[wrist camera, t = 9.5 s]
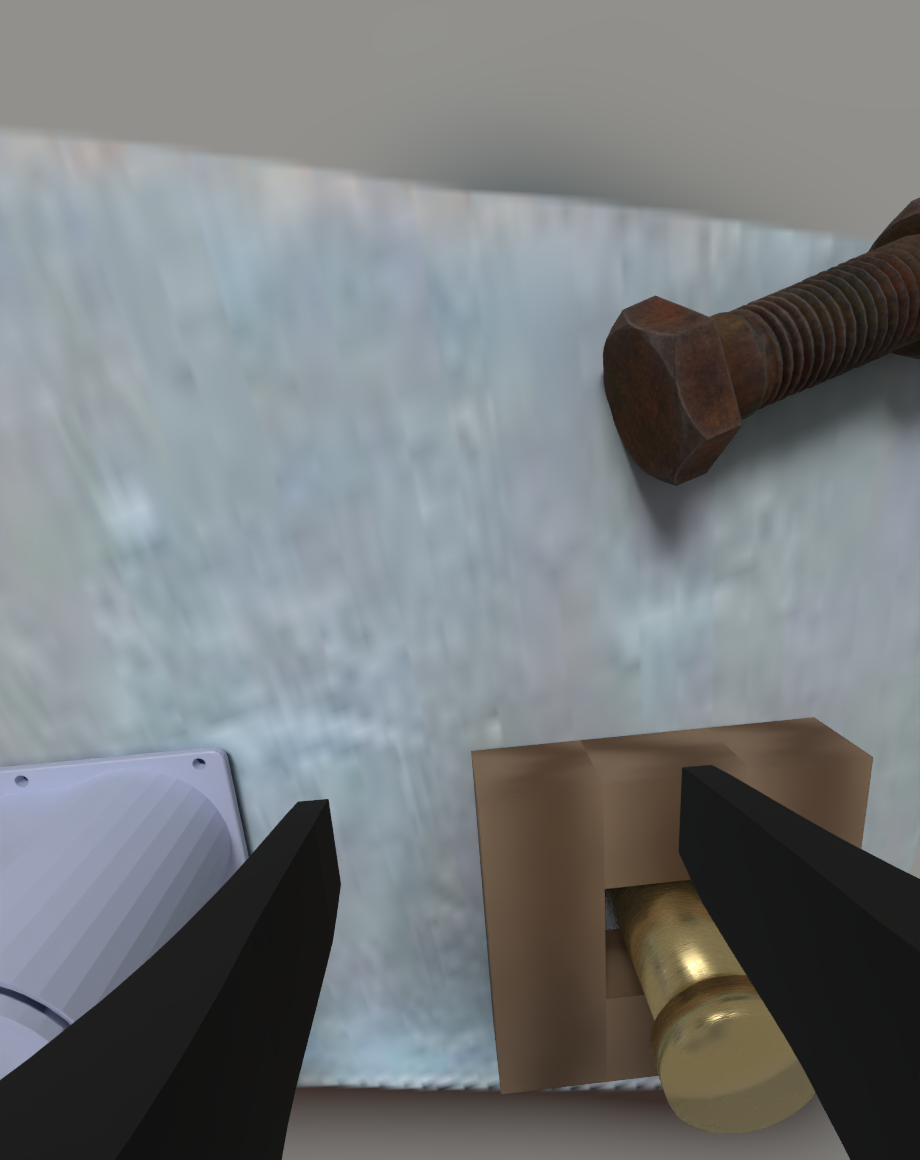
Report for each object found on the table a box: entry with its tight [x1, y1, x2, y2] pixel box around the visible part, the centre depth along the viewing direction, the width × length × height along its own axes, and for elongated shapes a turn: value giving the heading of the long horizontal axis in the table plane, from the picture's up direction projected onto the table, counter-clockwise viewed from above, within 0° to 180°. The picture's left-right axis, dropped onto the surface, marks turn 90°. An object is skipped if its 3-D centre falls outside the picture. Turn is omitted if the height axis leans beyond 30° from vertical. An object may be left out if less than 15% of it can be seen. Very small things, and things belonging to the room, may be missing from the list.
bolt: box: [603, 198, 920, 486], centre depth 16 cm, size 6×5×15 cm
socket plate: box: [471, 718, 873, 1094], centre depth 22 cm, size 15×15×3 cm
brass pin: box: [605, 880, 815, 1134], centre depth 19 cm, size 5×5×8 cm
